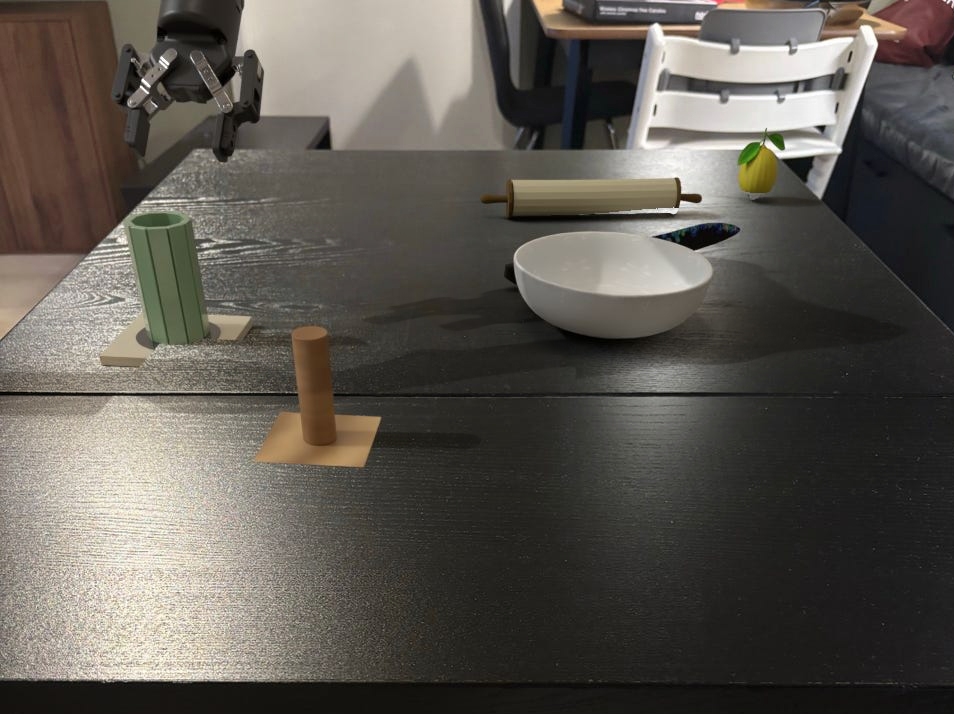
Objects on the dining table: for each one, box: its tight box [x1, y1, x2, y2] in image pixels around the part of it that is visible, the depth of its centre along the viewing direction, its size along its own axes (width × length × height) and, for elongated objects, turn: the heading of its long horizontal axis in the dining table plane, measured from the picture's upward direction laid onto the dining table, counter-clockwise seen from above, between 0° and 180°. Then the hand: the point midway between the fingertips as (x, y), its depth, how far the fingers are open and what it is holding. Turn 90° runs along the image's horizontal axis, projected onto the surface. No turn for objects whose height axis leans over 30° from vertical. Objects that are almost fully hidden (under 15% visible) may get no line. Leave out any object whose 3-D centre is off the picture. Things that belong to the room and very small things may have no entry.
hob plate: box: [98, 311, 254, 368], centre depth 96 cm, size 12×12×1 cm
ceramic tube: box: [122, 210, 210, 346], centre depth 92 cm, size 6×6×11 cm
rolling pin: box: [480, 176, 703, 219], centre depth 134 cm, size 32×6×5 cm, turn 96°
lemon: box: [736, 127, 786, 194], centre depth 140 cm, size 7×6×10 cm
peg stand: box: [253, 325, 382, 468], centre depth 76 cm, size 9×9×10 cm
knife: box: [503, 222, 741, 287], centre depth 112 cm, size 31×3×4 cm, turn 104°
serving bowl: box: [513, 231, 715, 340], centre depth 100 cm, size 21×21×7 cm
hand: (177, 155), depth 91 cm, fingers open, 8 cm apart
